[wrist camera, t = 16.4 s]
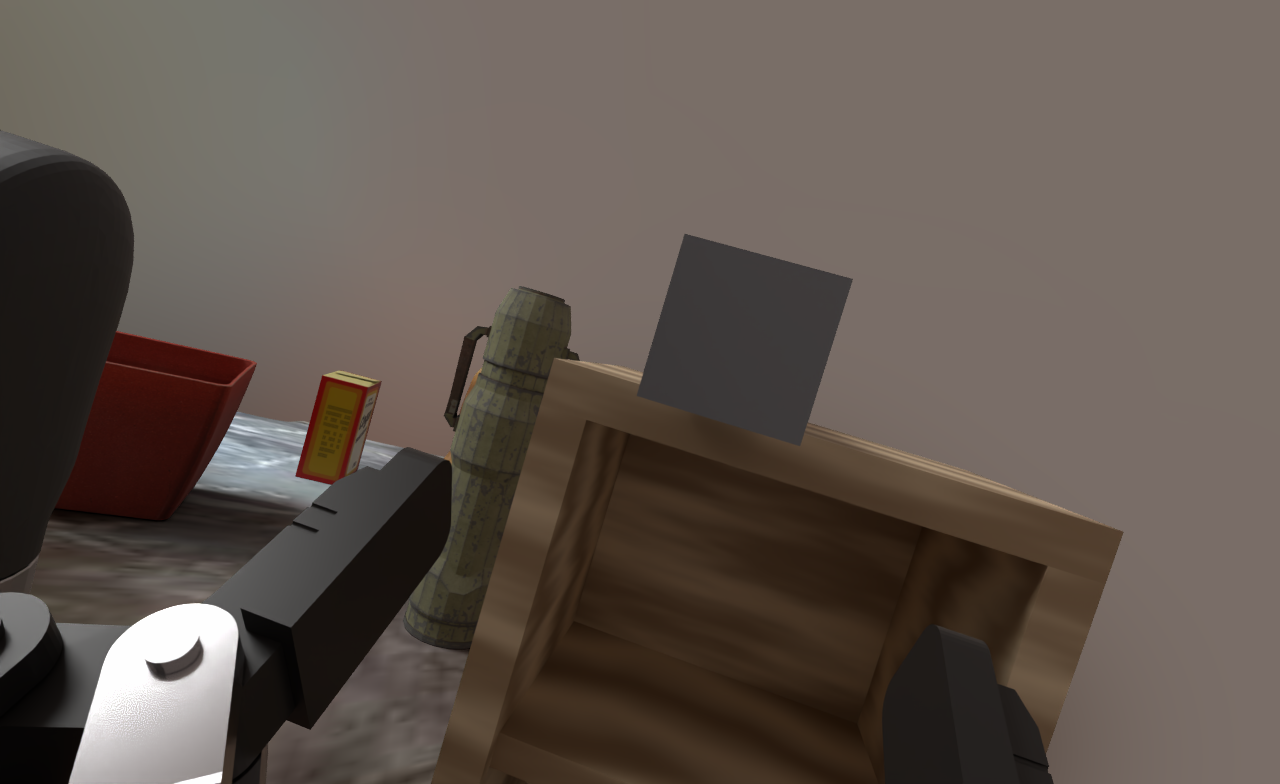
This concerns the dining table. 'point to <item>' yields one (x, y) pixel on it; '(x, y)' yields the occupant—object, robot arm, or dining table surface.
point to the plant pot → (153, 427)
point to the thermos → (488, 458)
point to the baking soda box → (338, 427)
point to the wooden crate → (744, 597)
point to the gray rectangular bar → (744, 338)
